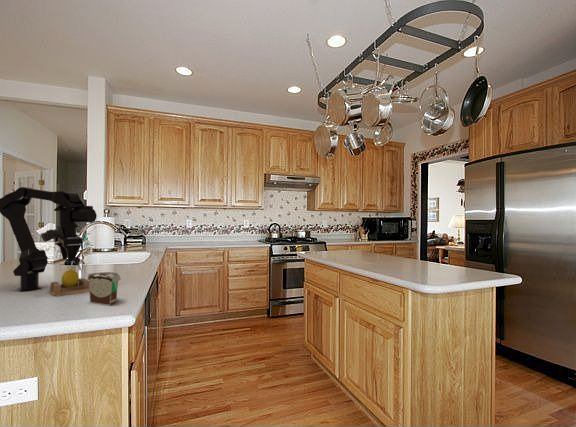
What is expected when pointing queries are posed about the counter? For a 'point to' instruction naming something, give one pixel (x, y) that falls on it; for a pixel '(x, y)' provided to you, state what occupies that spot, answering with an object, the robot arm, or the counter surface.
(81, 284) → the cradle
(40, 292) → the counter surface
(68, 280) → the lemon
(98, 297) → the food container
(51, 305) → the counter surface
